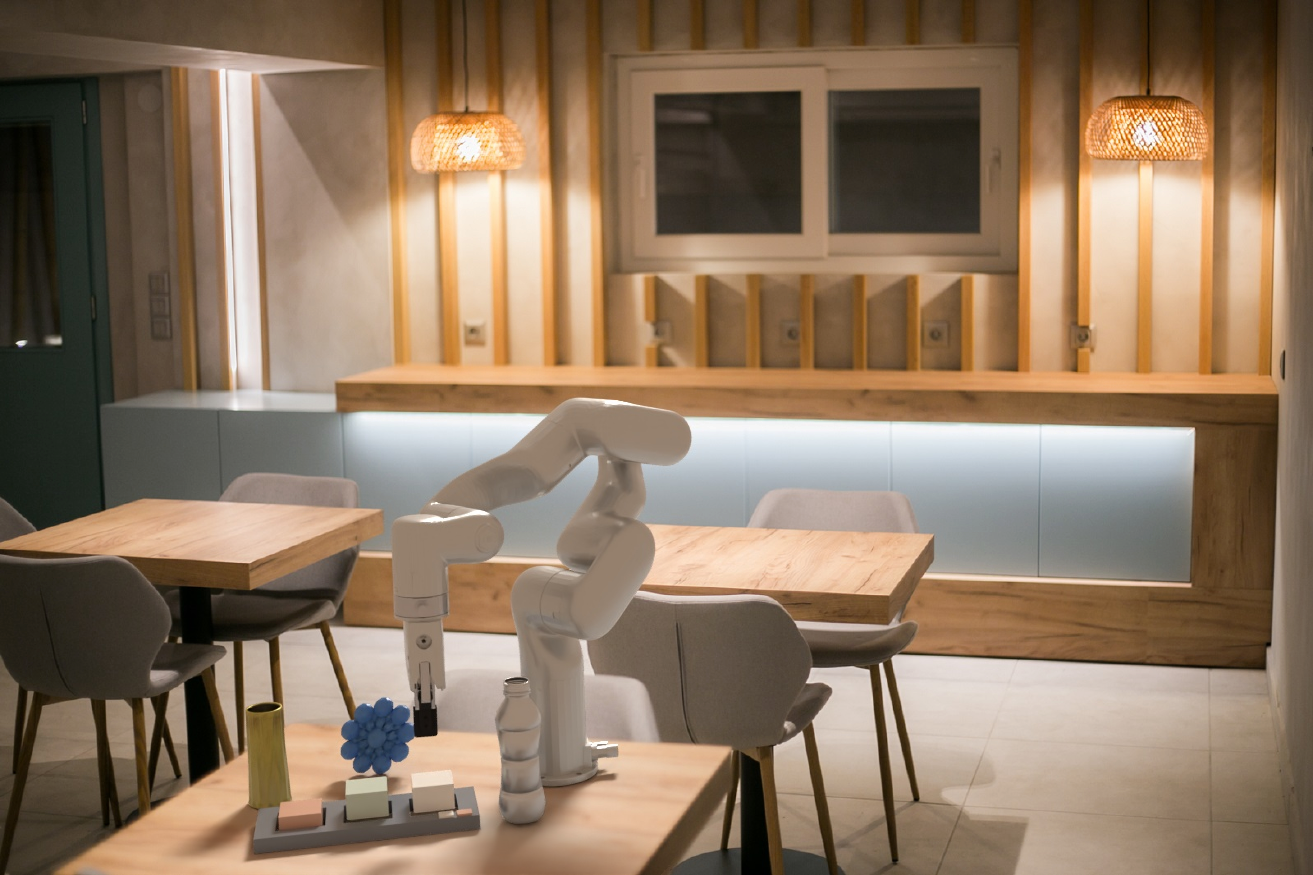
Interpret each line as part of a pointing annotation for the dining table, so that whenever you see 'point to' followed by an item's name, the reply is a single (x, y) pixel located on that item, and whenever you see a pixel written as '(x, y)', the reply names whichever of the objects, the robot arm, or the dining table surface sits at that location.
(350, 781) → the key sage
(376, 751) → the blue flower rosette
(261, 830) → the keypad board
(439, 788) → the key ivory
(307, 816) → the key terracotta
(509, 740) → the plastic bottle
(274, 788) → the vase
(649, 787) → the dining table surface
